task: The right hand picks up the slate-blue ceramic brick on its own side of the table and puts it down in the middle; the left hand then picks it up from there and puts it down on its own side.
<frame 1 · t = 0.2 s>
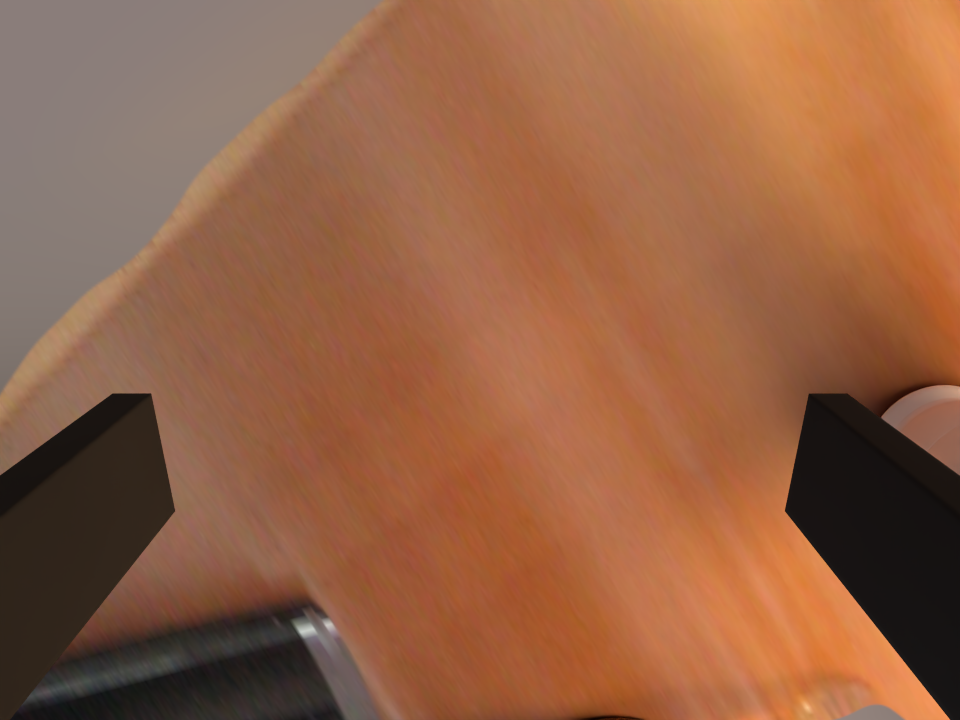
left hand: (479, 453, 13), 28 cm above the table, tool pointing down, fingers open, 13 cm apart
jar: (924, 436, 44), on the table
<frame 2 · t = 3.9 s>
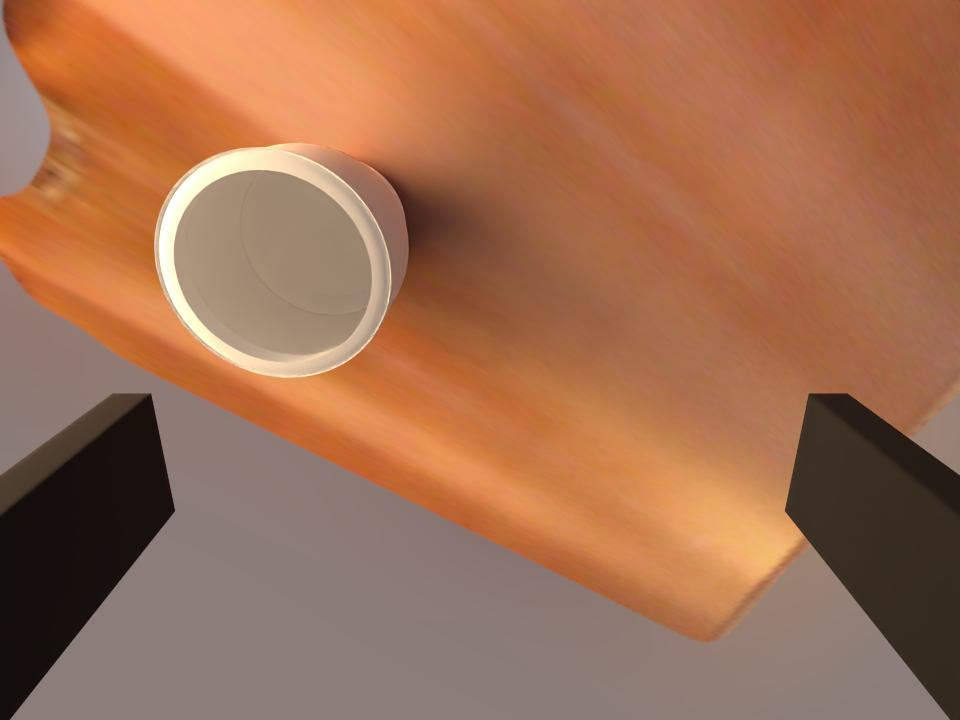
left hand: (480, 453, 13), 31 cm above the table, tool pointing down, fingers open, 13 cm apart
jar: (344, 221, 42), on the table
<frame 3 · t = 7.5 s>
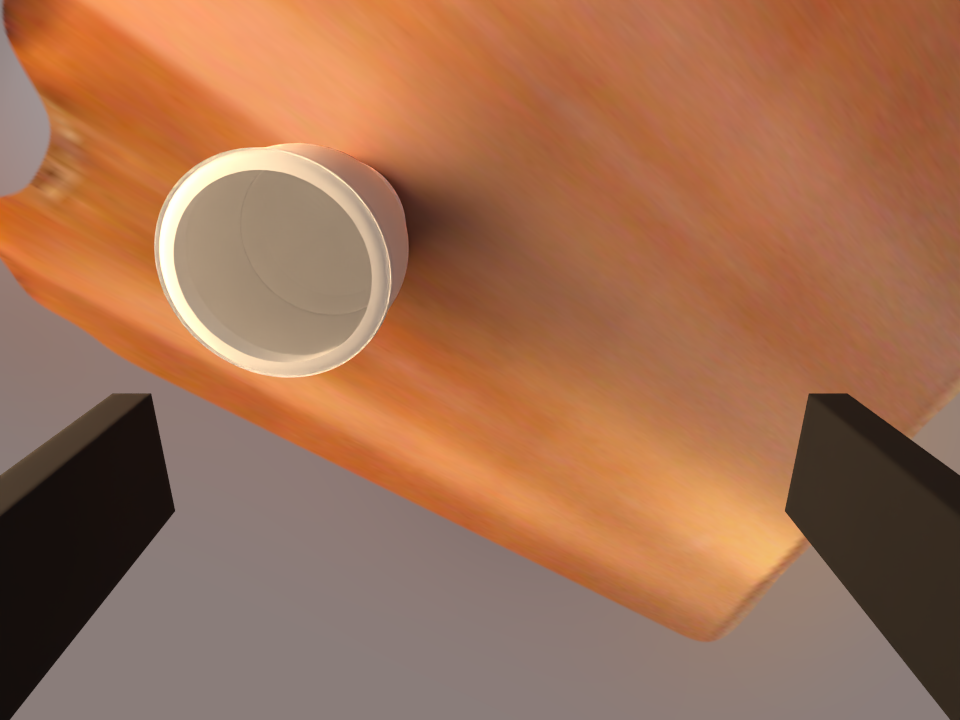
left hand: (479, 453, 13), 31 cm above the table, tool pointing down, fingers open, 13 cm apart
jar: (344, 221, 42), on the table
when the right hand's fingers open (7 cm above the table, at t = 11.1 s): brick drops 2 cm, on the table.
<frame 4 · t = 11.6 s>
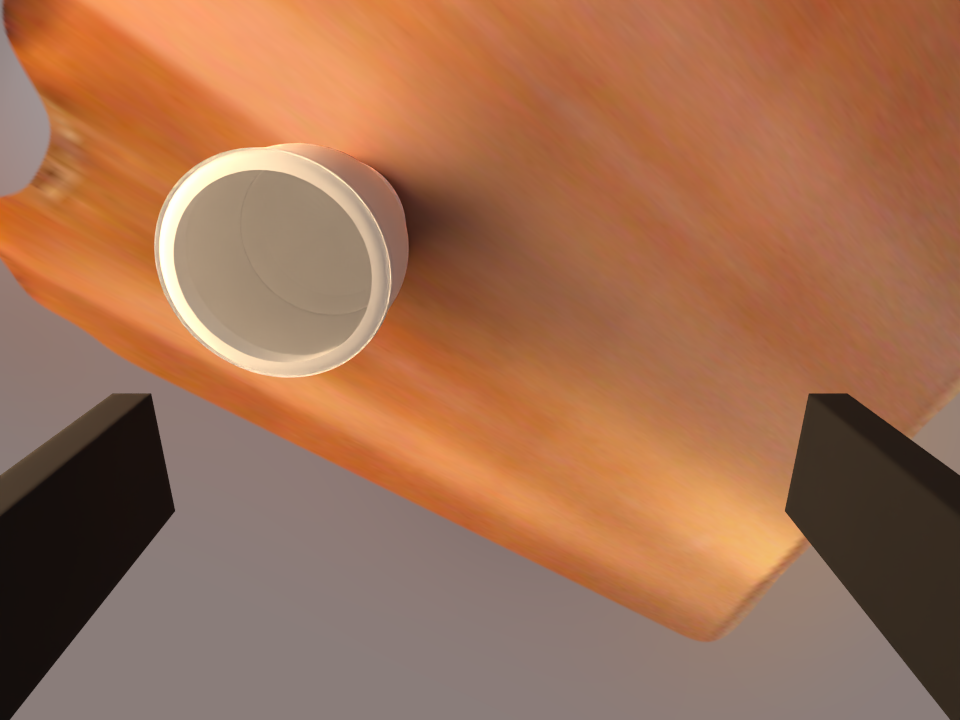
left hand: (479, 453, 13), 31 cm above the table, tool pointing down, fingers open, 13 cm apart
jar: (344, 221, 42), on the table
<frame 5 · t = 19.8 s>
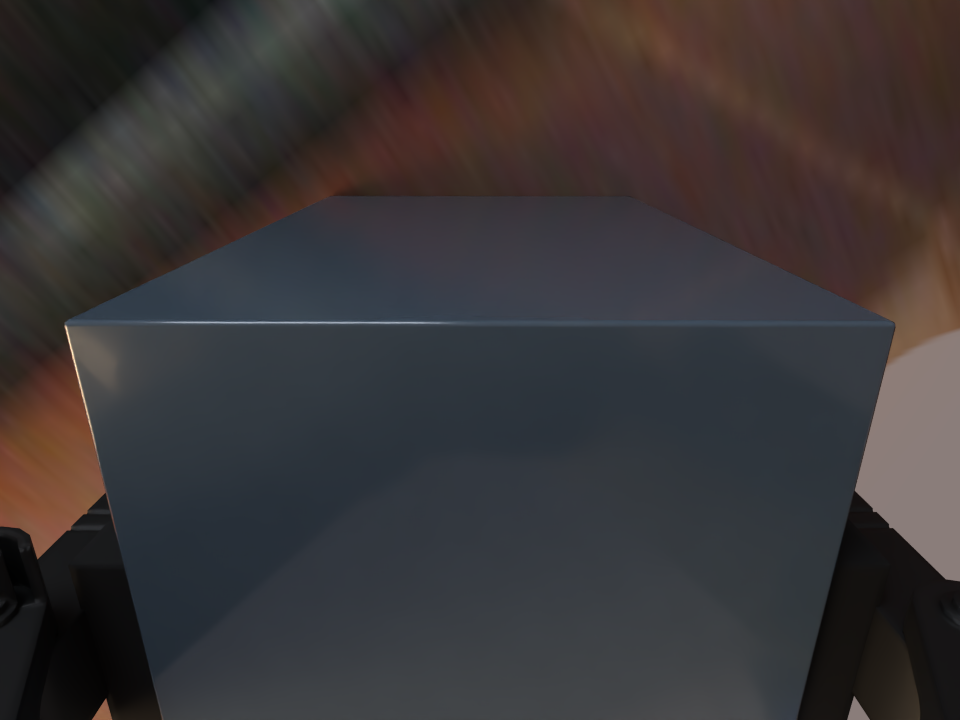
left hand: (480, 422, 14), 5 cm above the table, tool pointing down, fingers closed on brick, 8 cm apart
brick: (480, 348, 19), on the table, touching left hand
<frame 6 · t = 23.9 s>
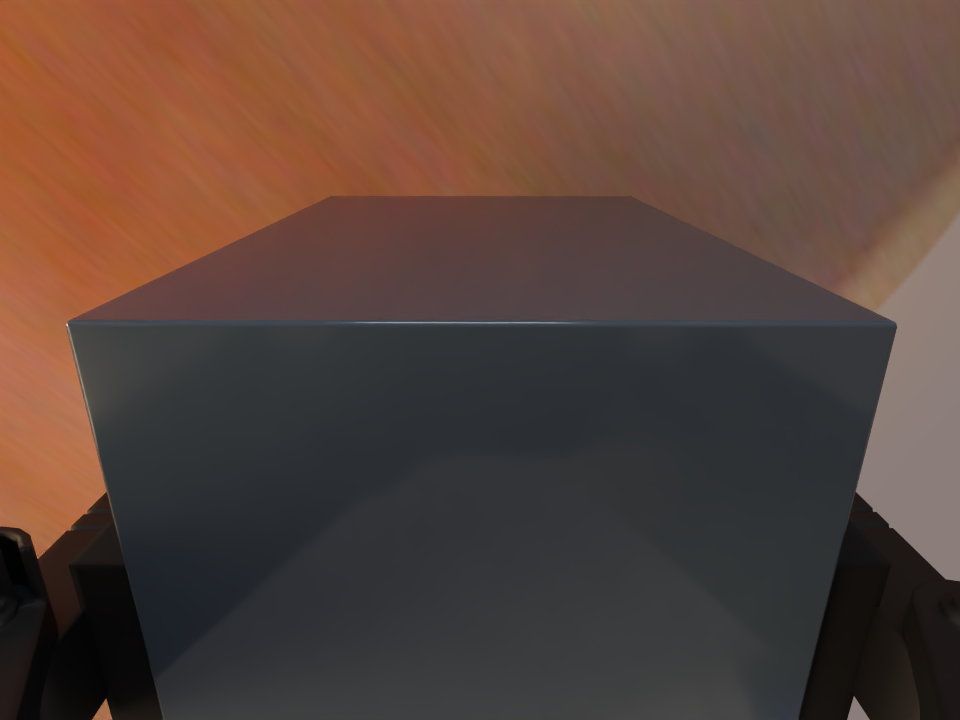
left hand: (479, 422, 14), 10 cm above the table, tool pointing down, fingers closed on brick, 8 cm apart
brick: (480, 348, 19), point 5 cm above the table, touching left hand
when the left hand's fingers open (7 cm above the table, at t = 28.1 s): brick drops 2 cm, on the table.
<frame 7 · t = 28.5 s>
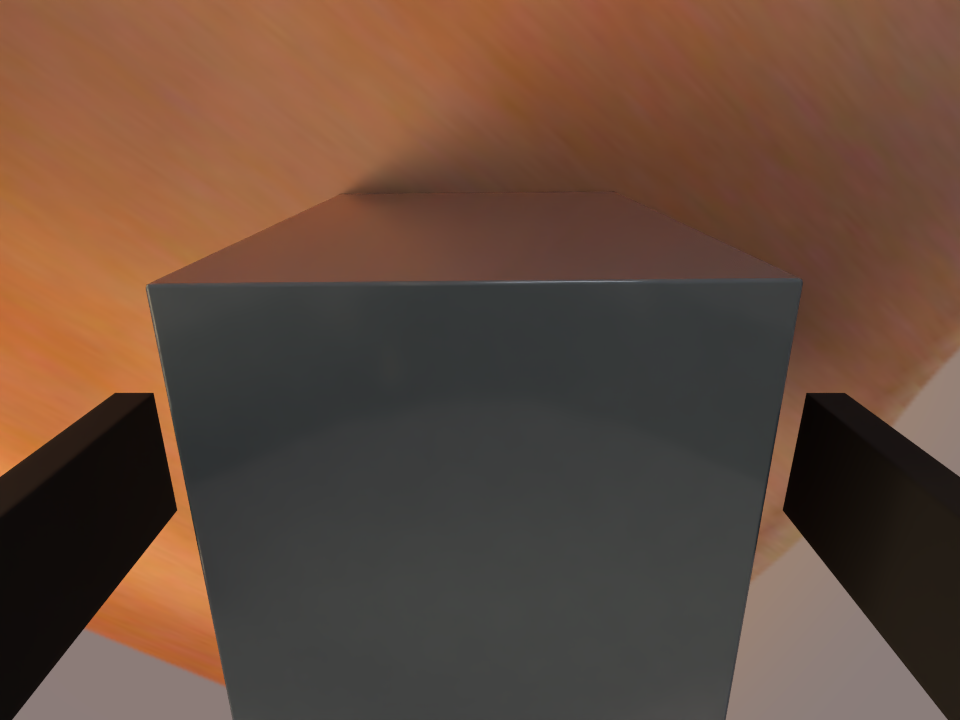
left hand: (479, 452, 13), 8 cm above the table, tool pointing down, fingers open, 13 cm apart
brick: (478, 332, 20), on the table
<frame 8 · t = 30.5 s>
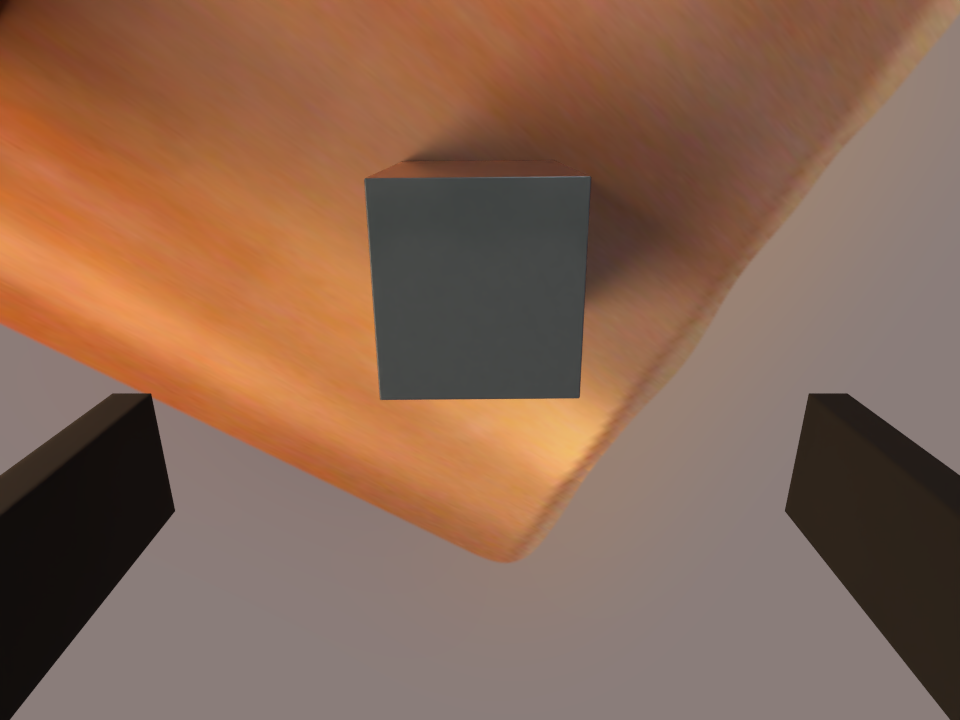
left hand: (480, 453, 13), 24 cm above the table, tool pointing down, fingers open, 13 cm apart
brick: (478, 243, 35), on the table
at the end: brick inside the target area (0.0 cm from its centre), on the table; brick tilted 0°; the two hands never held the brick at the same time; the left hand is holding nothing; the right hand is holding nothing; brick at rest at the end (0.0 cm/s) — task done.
